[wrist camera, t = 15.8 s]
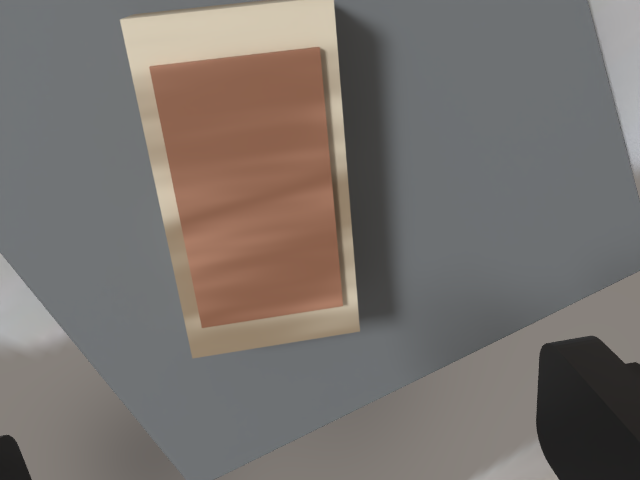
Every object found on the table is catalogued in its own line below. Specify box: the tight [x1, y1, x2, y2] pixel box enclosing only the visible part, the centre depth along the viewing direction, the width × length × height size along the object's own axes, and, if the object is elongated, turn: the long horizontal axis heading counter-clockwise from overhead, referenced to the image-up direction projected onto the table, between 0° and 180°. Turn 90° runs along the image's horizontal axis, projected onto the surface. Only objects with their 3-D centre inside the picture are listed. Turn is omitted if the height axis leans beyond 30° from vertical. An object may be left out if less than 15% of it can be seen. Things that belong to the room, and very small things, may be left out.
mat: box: [0, 0, 640, 480], centre depth 23 cm, size 24×30×1 cm
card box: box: [120, 0, 360, 359], centre depth 22 cm, size 3×6×12 cm
